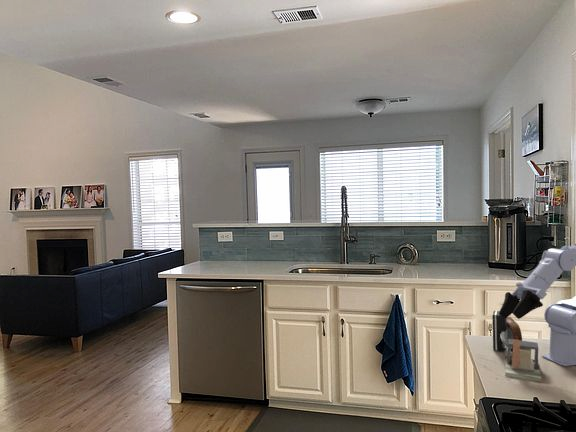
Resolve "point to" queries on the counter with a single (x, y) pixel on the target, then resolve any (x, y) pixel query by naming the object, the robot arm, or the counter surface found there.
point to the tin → (511, 332)
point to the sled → (521, 358)
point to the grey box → (525, 345)
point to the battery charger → (498, 331)
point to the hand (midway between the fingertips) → (508, 316)
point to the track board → (522, 372)
